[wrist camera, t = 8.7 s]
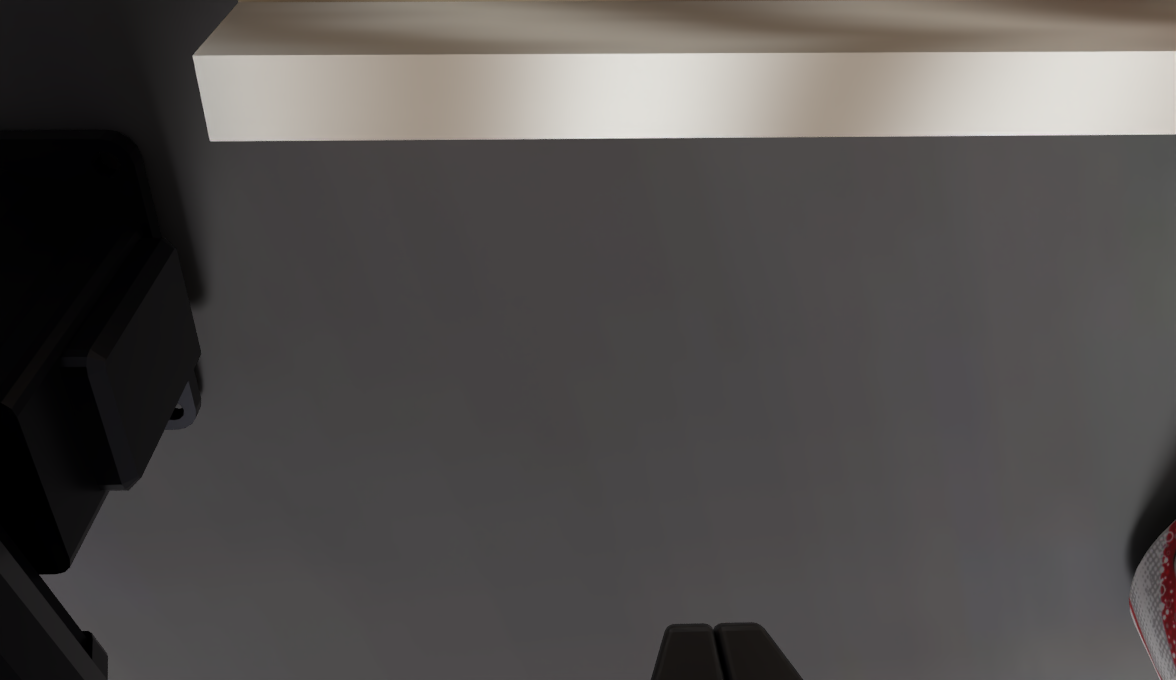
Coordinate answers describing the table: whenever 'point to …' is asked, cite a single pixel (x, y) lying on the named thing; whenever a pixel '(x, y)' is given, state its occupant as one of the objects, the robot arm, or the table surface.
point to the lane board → (687, 69)
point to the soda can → (1157, 603)
